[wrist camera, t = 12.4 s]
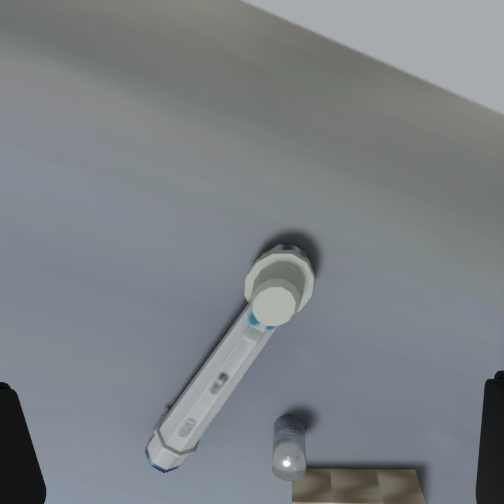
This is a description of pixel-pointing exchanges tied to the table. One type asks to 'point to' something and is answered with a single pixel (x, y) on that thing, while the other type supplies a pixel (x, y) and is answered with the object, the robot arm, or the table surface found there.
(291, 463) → the short pin
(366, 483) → the bored block
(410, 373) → the table surface
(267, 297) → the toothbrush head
